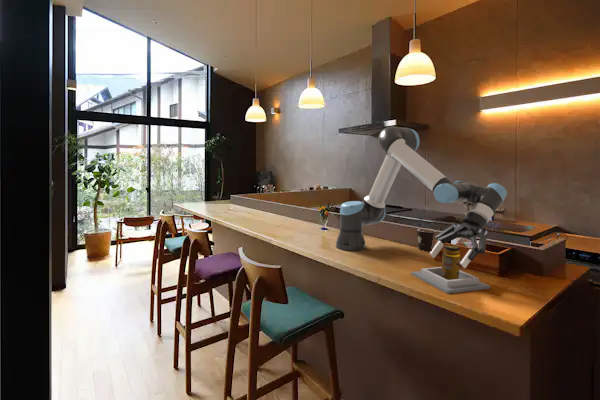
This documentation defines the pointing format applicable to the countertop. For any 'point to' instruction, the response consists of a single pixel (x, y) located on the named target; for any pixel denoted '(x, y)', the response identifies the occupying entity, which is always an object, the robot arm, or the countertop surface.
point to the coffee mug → (425, 240)
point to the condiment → (450, 262)
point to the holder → (450, 281)
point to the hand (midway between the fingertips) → (446, 260)
